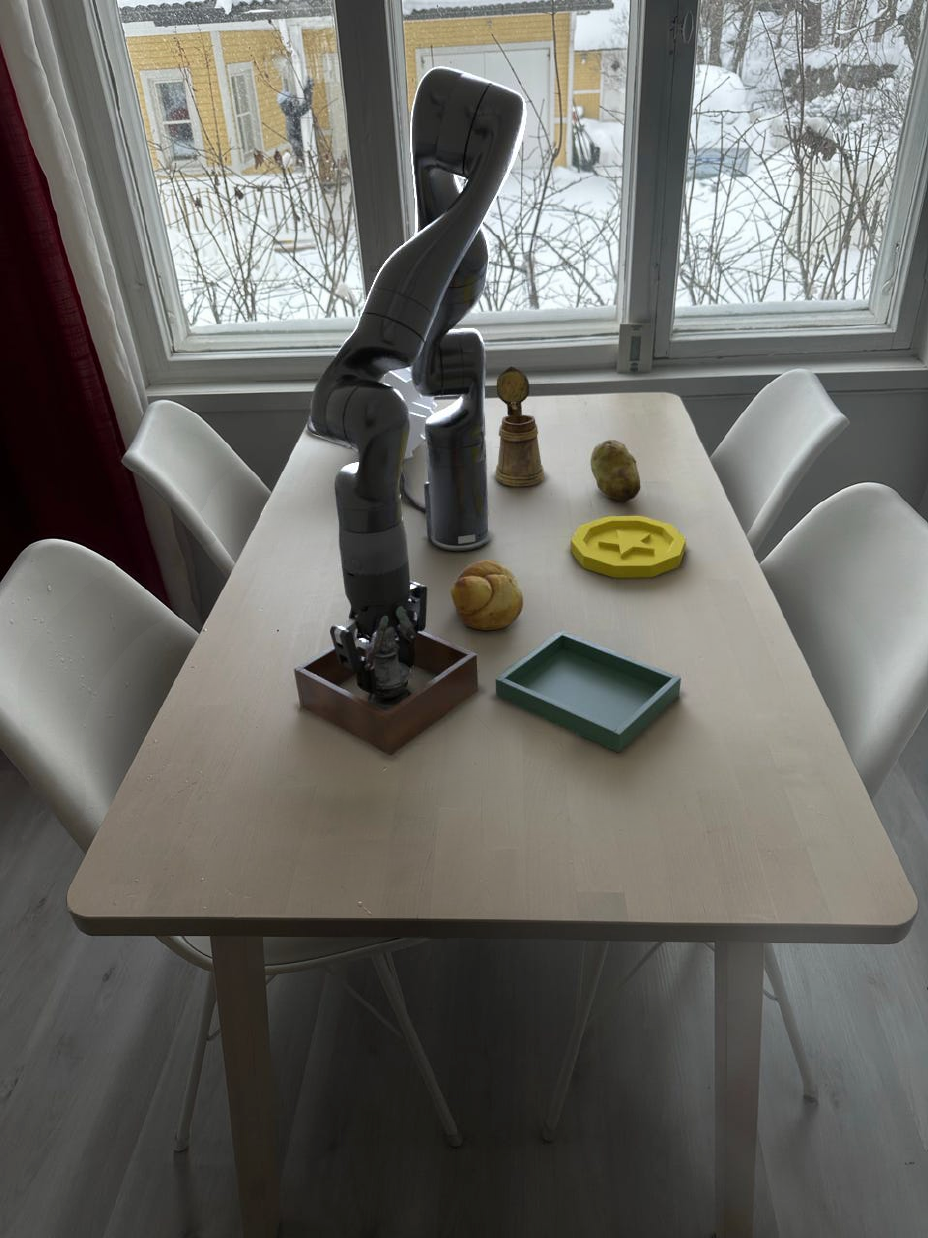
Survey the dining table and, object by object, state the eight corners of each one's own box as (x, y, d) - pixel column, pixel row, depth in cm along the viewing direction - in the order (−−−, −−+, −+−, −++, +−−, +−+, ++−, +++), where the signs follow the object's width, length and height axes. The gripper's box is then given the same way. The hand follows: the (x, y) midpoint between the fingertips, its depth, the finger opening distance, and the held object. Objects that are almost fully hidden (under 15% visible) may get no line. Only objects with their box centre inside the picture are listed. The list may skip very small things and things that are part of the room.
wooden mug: (535, 457, 178) (535, 364, 169) (548, 484, 167) (548, 386, 157) (489, 460, 178) (487, 367, 168) (499, 488, 166) (496, 390, 157)
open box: (299, 705, 113) (293, 668, 111) (388, 648, 123) (385, 613, 120) (390, 756, 105) (386, 717, 102) (478, 690, 114) (477, 653, 112)
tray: (495, 696, 113) (495, 679, 112) (560, 646, 122) (560, 630, 121) (618, 753, 103) (619, 734, 102) (679, 695, 112) (681, 677, 111)
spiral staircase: (364, 488, 179) (382, 435, 199) (443, 451, 173) (454, 400, 194) (312, 408, 170) (337, 361, 191) (394, 365, 164) (411, 322, 185)
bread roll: (455, 589, 136) (453, 541, 132) (522, 588, 135) (521, 539, 131) (451, 637, 125) (448, 586, 121) (523, 636, 124) (523, 584, 120)
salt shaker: (406, 714, 111) (398, 630, 105) (359, 710, 112) (348, 626, 106) (418, 686, 116) (411, 604, 109) (373, 682, 117) (363, 600, 111)
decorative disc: (608, 517, 154) (608, 506, 153) (704, 545, 144) (705, 534, 143) (550, 556, 143) (550, 545, 142) (650, 589, 134) (650, 577, 133)
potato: (591, 506, 158) (592, 462, 154) (588, 476, 169) (590, 434, 165) (640, 506, 157) (643, 462, 153) (634, 476, 168) (637, 434, 164)
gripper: (395, 524, 110) (405, 642, 119) (303, 571, 101) (322, 695, 110) (442, 540, 106) (449, 662, 115) (351, 591, 97) (366, 719, 106)
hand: (387, 677), depth 112 cm, fingers closed on salt shaker, 6 cm apart
